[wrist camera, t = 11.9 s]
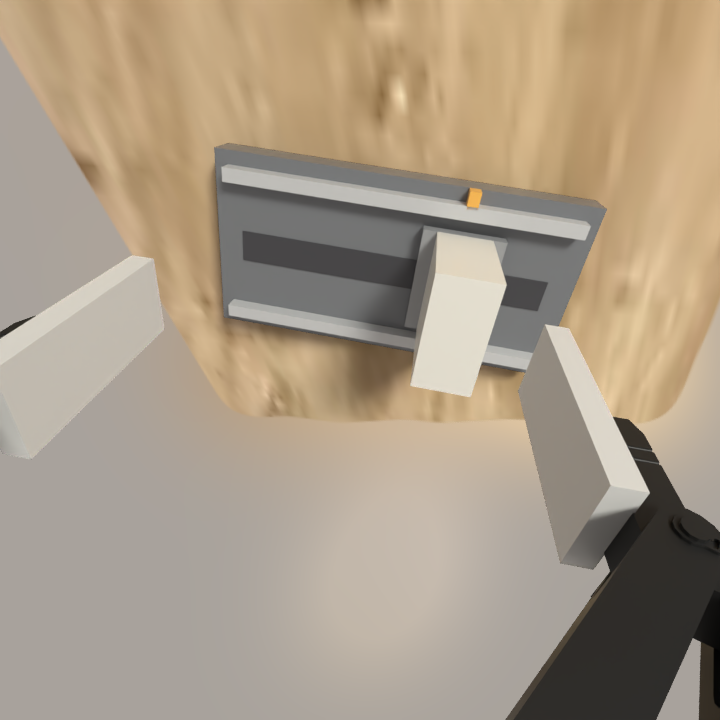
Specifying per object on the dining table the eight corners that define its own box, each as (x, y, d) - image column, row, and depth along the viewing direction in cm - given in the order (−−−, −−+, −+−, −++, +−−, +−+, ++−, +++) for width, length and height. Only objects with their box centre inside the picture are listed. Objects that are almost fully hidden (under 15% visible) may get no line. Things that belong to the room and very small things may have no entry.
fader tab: (405, 320, 37) (395, 382, 30) (423, 225, 33) (418, 269, 25) (477, 333, 37) (485, 400, 29) (506, 238, 32) (524, 288, 25)
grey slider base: (234, 305, 42) (218, 323, 39) (228, 143, 35) (207, 149, 31) (533, 359, 40) (540, 383, 37) (596, 200, 33) (612, 213, 30)
